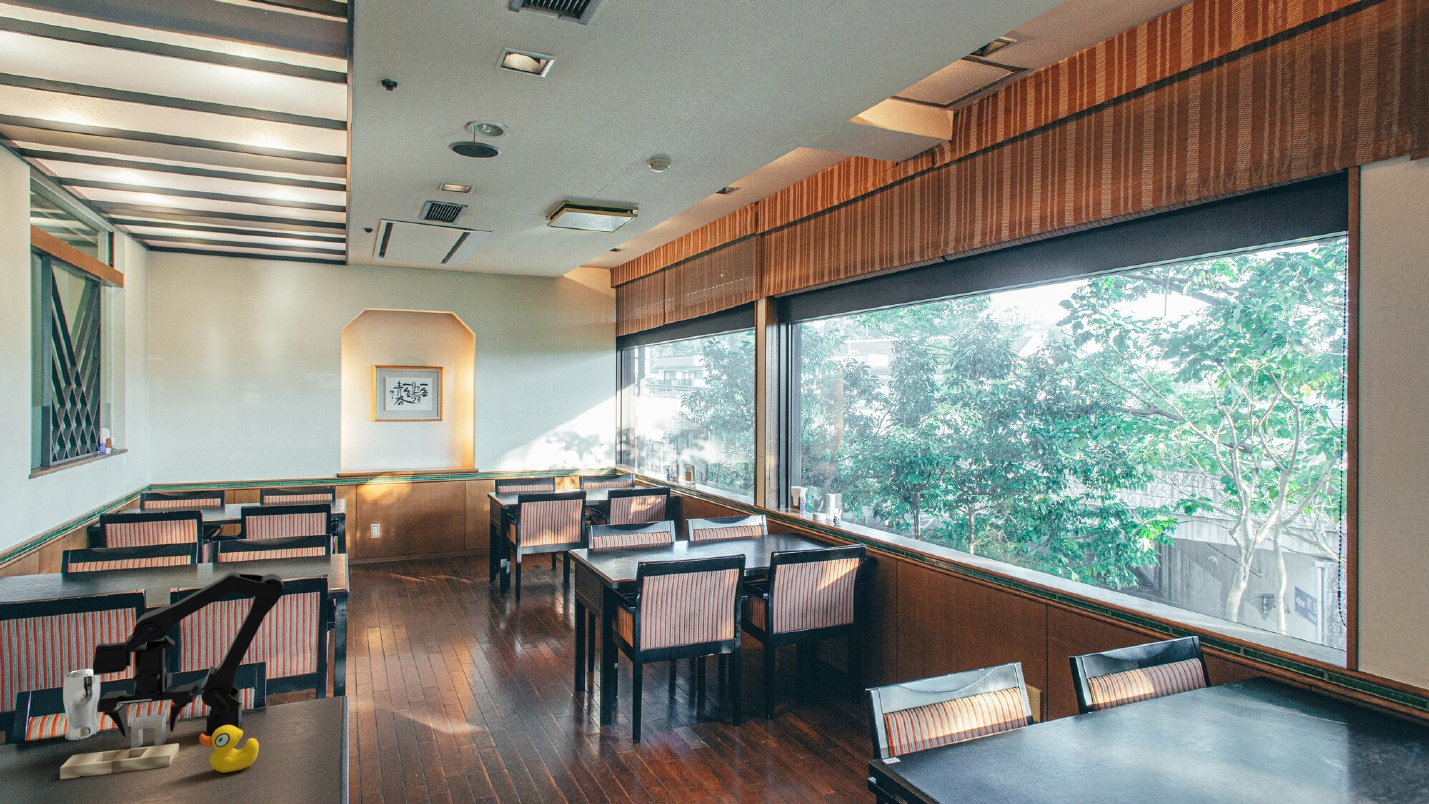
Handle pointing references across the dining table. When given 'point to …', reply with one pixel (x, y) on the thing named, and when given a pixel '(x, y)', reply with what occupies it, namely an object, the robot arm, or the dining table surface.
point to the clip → (148, 723)
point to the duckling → (230, 749)
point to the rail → (119, 761)
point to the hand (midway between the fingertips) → (149, 733)
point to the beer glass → (81, 703)
